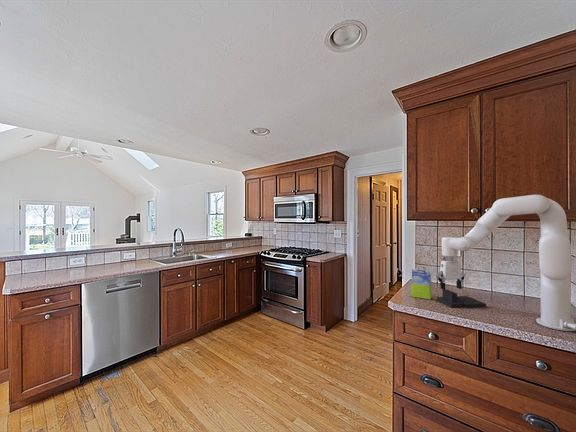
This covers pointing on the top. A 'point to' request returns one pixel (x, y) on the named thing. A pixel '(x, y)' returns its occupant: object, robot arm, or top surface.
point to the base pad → (470, 302)
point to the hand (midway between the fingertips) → (451, 288)
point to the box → (421, 284)
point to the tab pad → (450, 299)
